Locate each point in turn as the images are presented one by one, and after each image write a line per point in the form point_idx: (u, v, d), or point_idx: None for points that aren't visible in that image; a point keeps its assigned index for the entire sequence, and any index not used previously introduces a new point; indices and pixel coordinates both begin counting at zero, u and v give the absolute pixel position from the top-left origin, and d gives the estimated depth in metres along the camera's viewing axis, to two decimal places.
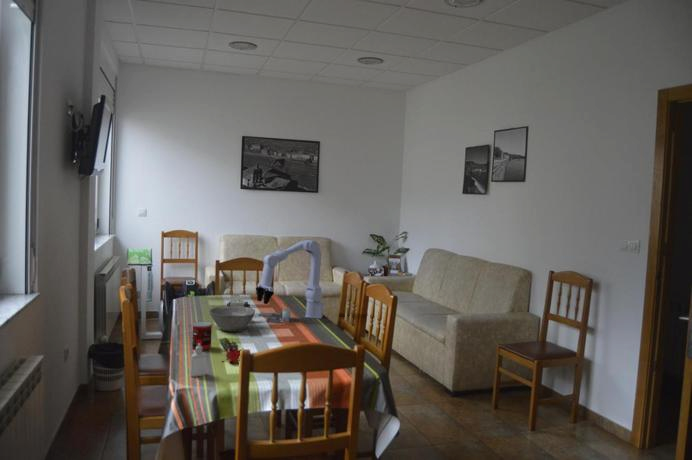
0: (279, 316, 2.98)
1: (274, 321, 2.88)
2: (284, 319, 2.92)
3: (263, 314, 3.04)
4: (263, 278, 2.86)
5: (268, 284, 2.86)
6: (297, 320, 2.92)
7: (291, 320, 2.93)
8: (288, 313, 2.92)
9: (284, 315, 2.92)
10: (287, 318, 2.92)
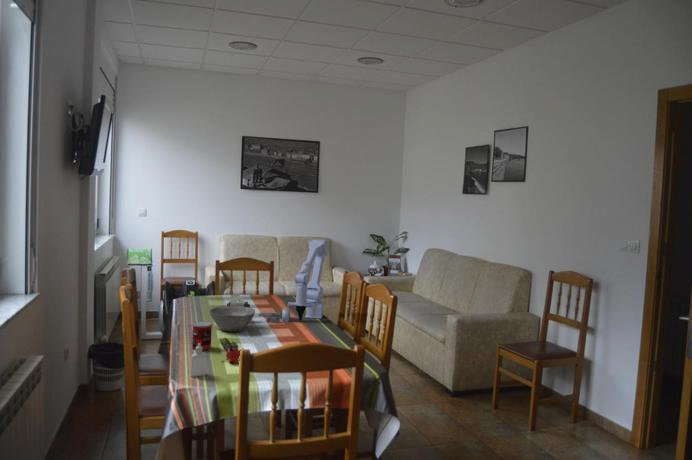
0: (279, 316, 2.98)
1: (274, 321, 2.88)
2: (284, 319, 2.92)
3: (263, 314, 3.04)
4: (302, 297, 2.90)
5: (306, 301, 2.93)
6: (297, 320, 2.92)
7: (291, 320, 2.93)
8: (288, 313, 2.92)
9: (284, 315, 2.92)
10: (287, 318, 2.92)
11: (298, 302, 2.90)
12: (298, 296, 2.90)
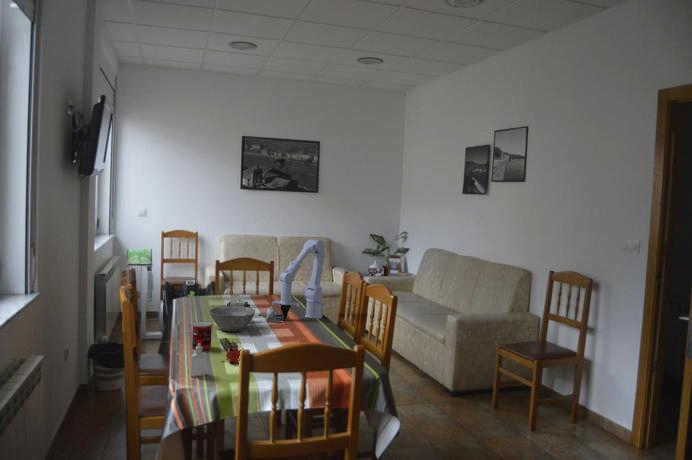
0: (279, 316, 2.98)
1: (274, 321, 2.88)
2: None
3: (263, 314, 3.04)
4: (286, 296, 2.91)
5: (290, 300, 2.93)
6: (281, 319, 2.93)
7: None
8: (272, 312, 2.93)
9: (268, 314, 2.93)
10: None
11: (282, 301, 2.91)
12: (282, 295, 2.91)
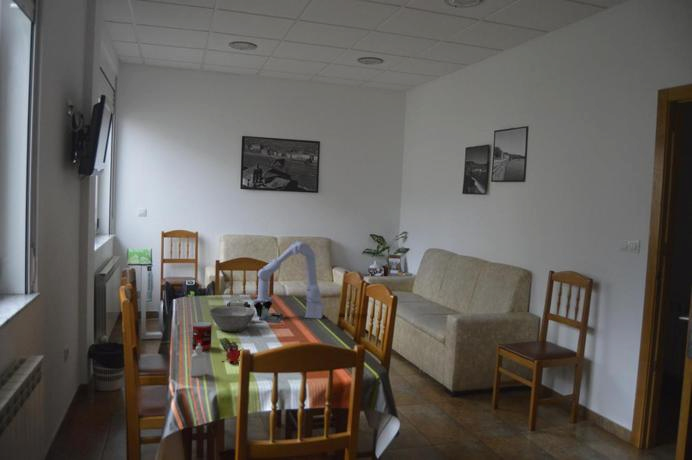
0: (279, 316, 2.98)
1: (274, 321, 2.88)
2: (261, 317, 2.93)
3: None
4: (268, 292, 2.94)
5: None
6: None
7: None
8: (265, 312, 2.93)
9: (261, 314, 2.93)
10: (264, 316, 2.93)
11: (265, 298, 2.92)
12: (265, 292, 2.92)
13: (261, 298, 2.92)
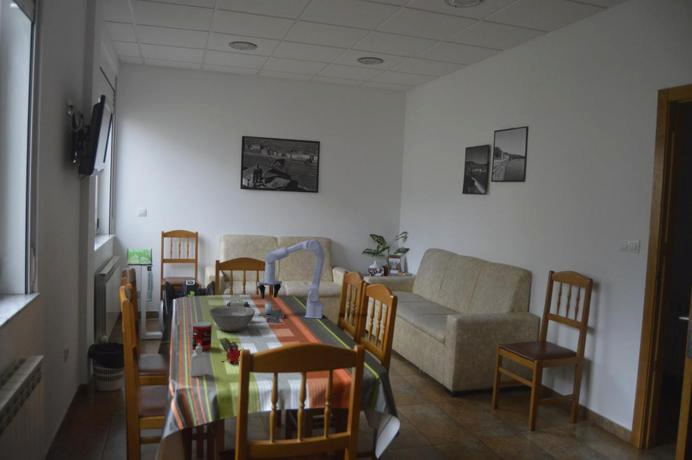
0: (279, 316, 2.98)
1: (274, 321, 2.88)
2: (266, 311, 3.03)
3: (263, 314, 3.04)
4: (273, 275, 3.02)
5: None
6: (277, 311, 3.01)
7: (272, 312, 3.02)
8: (269, 305, 3.03)
9: (265, 307, 3.03)
10: (268, 310, 3.03)
11: (270, 281, 3.01)
12: (270, 275, 3.01)
13: (266, 280, 3.02)
